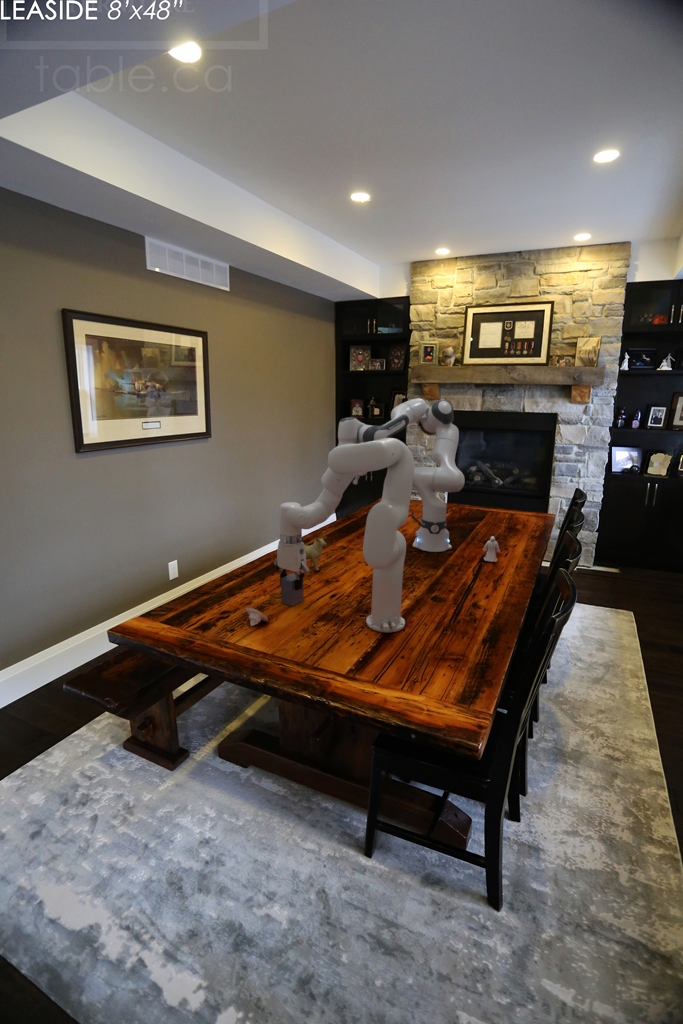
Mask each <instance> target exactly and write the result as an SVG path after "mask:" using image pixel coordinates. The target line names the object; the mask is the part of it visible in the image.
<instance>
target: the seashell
mask: <svg viewBox="0 0 683 1024" xmlns="http://www.w3.org/2000/svg"><path fill="white" fill-rule="evenodd" d="M245 611H246V614H248V615H249V616H248V619H249V625H250V626H251V627H253V626H256V625H258V624H259V623H260V622H261V621H265V622H269V618H268V616H267V615H266V614H264V613H263V612H261V611H260V610H259V609H256V608H253V607H245Z"/></svg>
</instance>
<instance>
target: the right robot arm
mask: <svg viewBox="0 0 683 1024" xmlns="http://www.w3.org/2000/svg"><path fill="white" fill-rule="evenodd" d="M454 420H455V417H454V407H453V405H452V404H451V402H449V400H447V399H443V398H442V399H438V400H436V401H435V402H433V403H432V405H431V406H429V405H428V404H427V402H426V401H425V400H424V399H423V398H420V397H419V398H412V399H410V400H407V401H405V402H402V403H400V404H398V405H396V406H395V407H394V408H392V410H391V412H390V420H389V421H387V422H386V423H384V424H382V425H371V424H366V423H364V422H361V420H359V419H357V418H356V417H354V416H350V417H349V416H348V417H345V418H342V419H340V421H339V422H338V429H337V439H338V444H337V446H341V445H345V444H359V443H365V442H370V441H375V440H380V439H384V438H393V436H395V435H397V434H398V433H400V432H402V431H403V430H404V429H406V428H407V427H409V426H412V425H414V424H415V423H416V424H417V426H418V427H419V429H420V430H421V431H422V432H423V433H424V434H425V435H427V436H432V435H435V438H434V443H433V445H432V450H431V453H430V457H431V460H432V461H433V462H434V463H435V464H436V465H438V466H439V467H435V466H433V467H432V466H417V467H416V466H415V467H414V477H413V483H412V488H414V489H415V490H416V491H417V493H418V495H419V497H420V499H421V504H422V517H421V520H419V519H418V518H416V516H415V515H414V511H412V512H411V513H410V514H411V517H412V518H413V519H414V520H415V521H416V522H418V523H419V525H420V527H419V529H418V530H416V531H415V536H416V537H415V538H414V541H413V543H412V545H411V547H412V548H415V549H419V550H421V551H426V552H430V553H433V552H434V553H438V552H439V553H440V552H446V551H447V550H451V549H453V546H452V545H451V544H450V532H449V531H448V529H447V524H448V522H447V509H448V507H447V503H446V501H444V499H442V498H440V497H439V496H438V494H437V493H436V492H441V493H457V492H461V490H462V489H463V488H464V486H465V482H466V481H465V480H466V479H465V475H464V474H463V472H462V471H461V470H460V469H459V468H458V467H457V465H456V461H455V460H456V453H457V449H458V446H459V440H460V438H459V437H460V433H459V432H460V431H459V428H458V427H457V426H456V425H455V424H453V423H454ZM331 451H332V450H330V451H328V455H329V454H330V452H331ZM326 467H327V469H328V468H329V465H328V462H327V466H326ZM327 469H326V470H327ZM367 474H368V472H360V473H357V474H356V476H355V477H354V479H353V480H352V484H353V485H358V482H359V480H360V477H363V476H366V475H367Z"/></svg>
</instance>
